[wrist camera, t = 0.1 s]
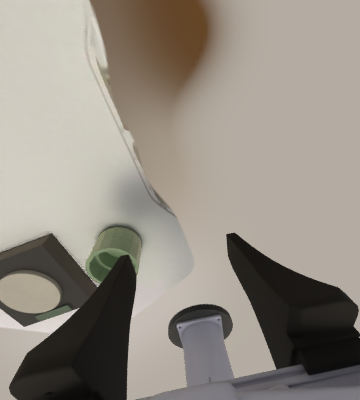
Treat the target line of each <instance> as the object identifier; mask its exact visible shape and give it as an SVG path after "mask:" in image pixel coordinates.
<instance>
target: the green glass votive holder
mask: <svg viewBox="0 0 360 400" xmlns="http://www.w3.org/2000/svg"><path fill="white" fill-rule="evenodd" d="M141 247H142V243H141V240H140V238H139V237H138V236H137V235H136V233H135V232H133V231H131V230H129V229H127V228H121V227H114V228H109V229H107V230H105V231H104V232H102V233H101V234H100V235H99V237H98V239H97V240H96V242H95V245H94V247H93V249H92V251H91V253H90V255H89V257H88V259H87V261H86V271H87V273H88V275H89V277H90V278H91V279H93V280H94V281H95V282H97V283H99V284H101V283H102V281H103V280H104V279H105V277H106V276H107V274H108V273H109V272H110V270H111V269H112V267H113V266H114V264H115V263H116V261H117V260H118V259H119V257H120V256H122V255H127V254H129V256H130V259H131V261H132V264H133V267H134V269H135V272H136V274H138V269H139V262H140V255H141Z"/></svg>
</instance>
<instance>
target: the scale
mask: <svg viewBox="0 0 360 400" xmlns="http://www.w3.org/2000/svg"><path fill="white" fill-rule="evenodd" d="M96 289H97V287H96V286H95V285H94V283H93V282H92V281H91V280H90V279H89V278H88V276H87V275H86V274H85V273H84V272H83V270H82V269H81V268H80V267H79V266H78V264H77V263H76V262H75V261H74V260H73V259H72V257H71V256H70V255H69V254H68V253H67V251H66V250H65V249H64V248H63V247H62V245H61V244H60V243H59V242H58V241H57V240H56V238H55V237H54V236H53V235H52V234H50V235H47V236H45V237H42V238H39V239H37V240H34V241H32V242H29V243H26V244H24V245H21V246H18V247H16V248H13V249H10V250H8V251H5V252H2V253H0V309H2V310H3V311H4V312H6V313H7V314H8V315H10V316H11V317H12V318H13V319H15V320H16V321H17V322H19V323H20V324H21V325H22V326H24V327H25V326H28V325H31V324H34V323H37V322H40V321H43V320H46V319H49V318H52V317H55V316H58V315H61V314H63V313H66V312H69V311H72V310H75V309H78V308H80V307H81V306H82V305H83V304H84V303H85V302H86V301H87V300H88V299H89V298H90V296H91V295H92V294H93V293H94V292H95V290H96Z"/></svg>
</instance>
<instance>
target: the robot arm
mask: <svg viewBox="0 0 360 400" xmlns="http://www.w3.org/2000/svg"><path fill="white" fill-rule="evenodd" d="M226 236H227V249H228V257H229V260H230V262H231V265H232V267H233V270H234V272H235V273H236V275H237V277H238V279H239V281H240V283H241V285H242V287H243V289H244V290H245V292H246V294H247V296H248V298H249V300H250V302H251V305H252V307H253V310H254V312H255V314H256V317H257V319H258V322H259V324H260V327H261V329H262V332H263V334H264V337H265V340H266V342H267V345H268V348H269V350H270V353H271V355H272V358H273V361H274V364H275V366H276V369H277V370H272V371H267V372H263V373H258V374H254V375H249V376H244V377H239V378H235V379H234V376H233V372H232V369H231V365H230V362H229V358H228V355H227V351H226V347H225V344H224V336H223V328H222V320H221V315H220V314H217V315H212V316H207V317H202V318H198V319H193V320H188V321H183V322H179V323H177V329H178V332H179V336H180V339H181V342H182V345H183V350H184V360H185V370H186V380H187V387H186V388H181V389H176V390H172V391H167V392H163V393H160V394H157V395H154V396H151V397H146V398H141V399H136V400H360V338H359V337H360V333H359V332H358V331H357V330H356V329H355V328H354V323H355V321H356V318H357V316H358V312H359V310H358V306H357V305H356V304H355V303H354V302H353V301H352V300H351V299H350V298H349V297H348V296H347V295H346V294H345V293H344V292H343V291H342V290H341V289H340V288H338V287H335V286H332V285H328V284H326V283H323V282H319V281H317V280H314V279H311V278H308V277H306V276H304V275H301V274H299V273H297V272H294V271H292V270H290V269H288V268H286V267H284V266H282V265H280V264H279V263H277V262H275V261H273V260H271V259H270V258H268V257H267V256H265V255H264V254H262V253H261V252H259V251H258V250H256V249H255V248H254V247H252V246H251V245H250V244H248V243H247V242H246V241H244V240H243V239H242V238H241V237H239V236H238V235H237V234H235V233H231V234H227V235H226ZM136 275H137V274H136V272H135V269H134V267H133V264H132V261H131V259H130V256H129V254H127V255H122V256H120V257H119V259H118V260H117V261H116V263H115V264H114V266H113V267H112V269H111V270H110V272H109V273H108V274H107V276H106V277H105V279H104V280H103V281H102V283H101V284H100V285H99V287H98V288H97V289H96V290H95V292H94V293H93V294H92V295H91V296H90V298H89V299H88V300H87V301H86V302H85V303H84V304H83V305H82V306H81V307H80V308H79V309H78V310H77V311H76V312H75V313H74V314H73V315H72V316H71V317H70V318H69V319H68V320H67V321H66V322H65V323H64V324H63V325H62V326H60V327H59V328H58V329H57V330H56V331H55V332H53V333H52V334H51V335H50V336H49V337H48V338H46V339H45V340H44V341H42V342H41V343H40V344H39V345H37V346H36V347H35V348H33V349H32V350H31V351H29V352H28V353H27V355H26V356H25V358H24V360H23V362H22V364H21V366H20V367H19V369H18V371H17V373H16V374H15V376H14V378H13V380H12V382H11V384H10V386H9V389H10V393H11V394H12V395H13V396H14V397H15V398H16V399H17V400H126V399H127V362H128V344H129V330H130V321H131V315H132V309H133V304H134V298H135V291H136Z"/></svg>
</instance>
